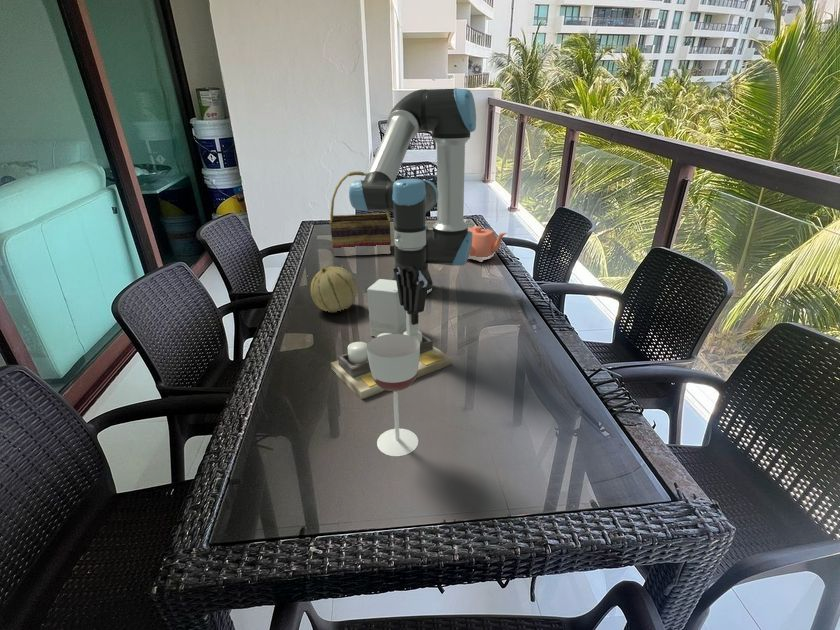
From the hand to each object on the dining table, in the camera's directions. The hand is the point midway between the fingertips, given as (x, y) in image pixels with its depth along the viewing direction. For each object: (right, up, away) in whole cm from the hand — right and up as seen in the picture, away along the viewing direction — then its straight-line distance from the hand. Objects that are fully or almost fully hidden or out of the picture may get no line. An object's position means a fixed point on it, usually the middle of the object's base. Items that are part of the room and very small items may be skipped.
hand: (412, 333), depth 121 cm
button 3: (0, -3, +2) cm, 4 cm away
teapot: (+27, +28, +76) cm, 85 cm away
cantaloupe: (-25, +6, +30) cm, 40 cm away
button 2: (-6, -4, -3) cm, 8 cm away
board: (-5, -8, -3) cm, 10 cm away
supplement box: (-7, 0, +15) cm, 17 cm away
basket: (-24, +33, +88) cm, 97 cm away
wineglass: (-2, -21, -29) cm, 35 cm away
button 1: (-13, -6, -7) cm, 16 cm away
